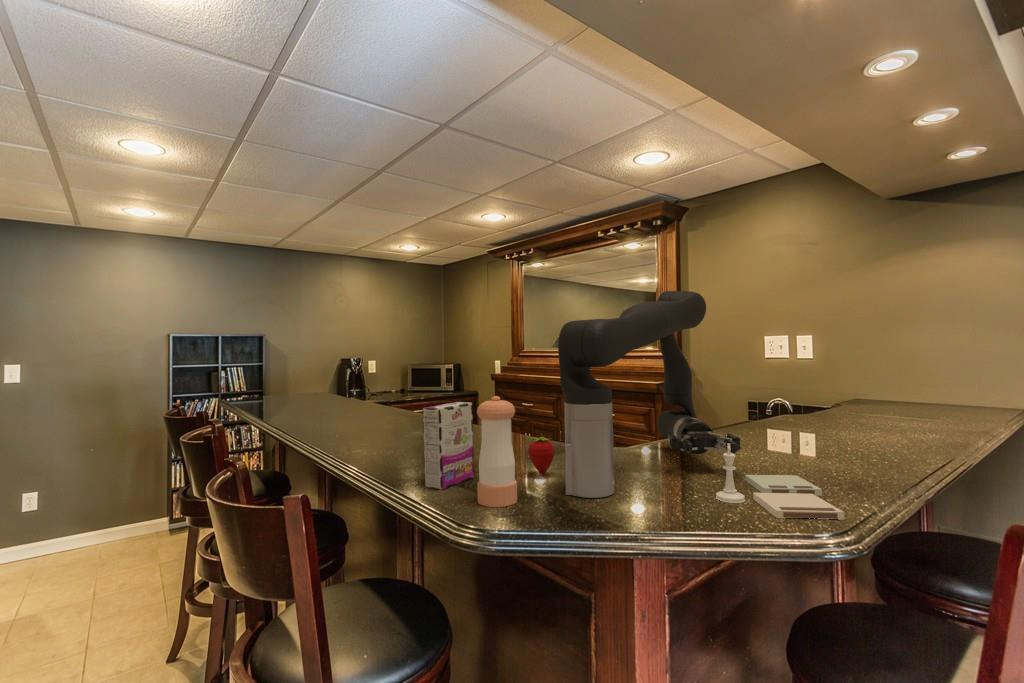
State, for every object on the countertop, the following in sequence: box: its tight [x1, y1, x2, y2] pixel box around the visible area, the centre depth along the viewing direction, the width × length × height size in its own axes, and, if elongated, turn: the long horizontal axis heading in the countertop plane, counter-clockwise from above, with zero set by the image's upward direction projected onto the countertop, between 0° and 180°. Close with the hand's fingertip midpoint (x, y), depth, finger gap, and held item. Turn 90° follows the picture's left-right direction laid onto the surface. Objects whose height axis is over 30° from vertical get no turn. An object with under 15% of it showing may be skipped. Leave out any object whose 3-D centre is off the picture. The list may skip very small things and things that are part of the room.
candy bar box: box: [422, 401, 475, 490], centre depth 103 cm, size 11×5×16 cm, turn 148°
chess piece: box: [715, 443, 746, 504], centre depth 88 cm, size 5×5×10 cm
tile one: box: [752, 492, 845, 521], centre depth 82 cm, size 10×10×1 cm
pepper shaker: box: [476, 395, 518, 508], centre depth 89 cm, size 7×7×19 cm
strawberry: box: [527, 434, 556, 476], centre depth 107 cm, size 6×8×10 cm
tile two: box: [744, 474, 823, 497], centre depth 94 cm, size 10×10×1 cm
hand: (712, 448), depth 99 cm, fingers open, 8 cm apart
